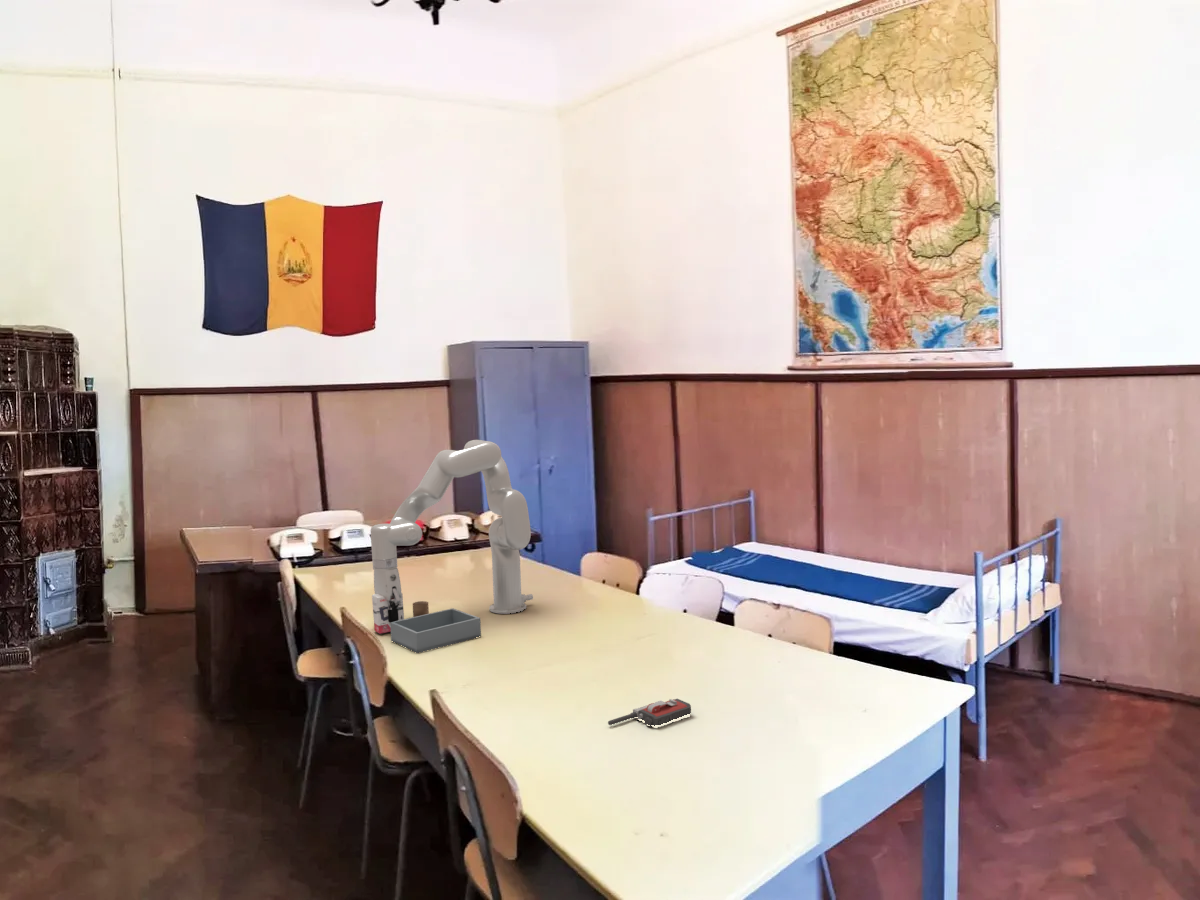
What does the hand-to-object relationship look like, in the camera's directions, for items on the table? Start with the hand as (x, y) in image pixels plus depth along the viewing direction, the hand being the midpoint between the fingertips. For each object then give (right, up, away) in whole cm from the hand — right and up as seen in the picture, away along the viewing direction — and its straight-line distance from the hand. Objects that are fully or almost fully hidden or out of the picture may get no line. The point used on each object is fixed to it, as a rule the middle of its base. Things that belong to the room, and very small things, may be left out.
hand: (388, 618), depth 276 cm
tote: (+17, -4, -9) cm, 19 cm away
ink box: (0, -4, 0) cm, 4 cm away
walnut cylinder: (+9, -3, +8) cm, 12 cm away
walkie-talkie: (+79, -9, -75) cm, 109 cm away
